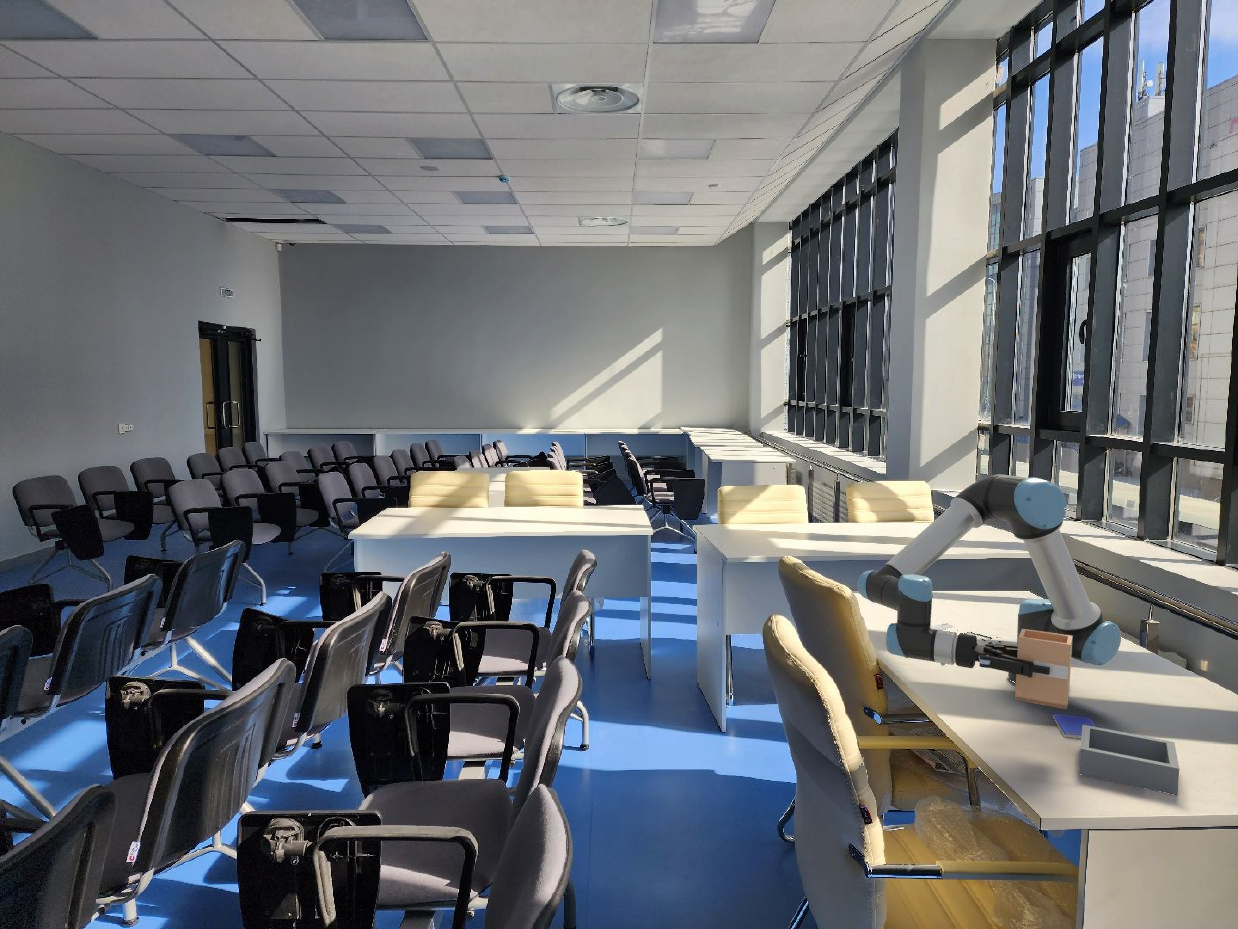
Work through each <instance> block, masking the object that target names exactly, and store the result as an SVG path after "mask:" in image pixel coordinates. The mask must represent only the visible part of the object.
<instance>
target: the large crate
mask: <svg viewBox="0 0 1238 929" xmlns="http://www.w3.org/2000/svg"><path fill="white" fill-rule="evenodd" d="M1078 765H1079V766H1078V775H1080V774H1081V775H1080V776H1084V775H1085V777H1089V776H1090V778H1093V777H1094V779H1098V780H1099V779H1100V780H1103V779H1104V781H1107V780H1108V782H1113V783H1117V784H1122V785H1126V786H1127V785H1128V786H1130V785H1132V786H1131V787H1135V788H1141V789H1144V788H1146V789H1145V790H1150V791H1154V792H1158V791H1161V792H1160V793H1163V792H1166V793H1165V794H1167V793H1169V794H1168V795H1172V794H1174V795H1173V796H1176V795H1177V796H1178V795H1179V794H1178V792H1179V781H1180V779H1179V778H1180V765H1179V760H1178V753H1177V749H1176V742H1175V741H1170V740H1167V739H1160V738H1155V737H1151V736H1149V737H1148V736H1144V735H1140V734H1135V733H1128V732H1122V731H1117V730H1114V729H1113V730H1112V729H1108V728H1103V727H1097V726H1096V727H1093V726H1087V725H1082V736H1081V739H1080V749H1079V763H1078Z"/></svg>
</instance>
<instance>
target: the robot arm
mask: <svg viewBox="0 0 1238 929" xmlns="http://www.w3.org/2000/svg"><path fill="white" fill-rule="evenodd" d="M1065 508H1067V499H1066V497H1065V494H1064V493H1063V491H1062V489H1061V488H1060V487H1059V486H1058V485H1057V484H1055V483H1054V482H1052V481H1050V480H1045V479H1042V478H1040V477H1024V476H1016V475H1008V474H1003V473H1002V474H1001V473H999V474H992V475H989V476H985V477H983V478H981V479H978V480H977V481H975V482H974V483H972V484H970V485H969V486H967V487H966V488H964V489H963V490H962V491H960V492H959V493H958V494H957V495H956V496H955V497H954V498H952V499H951V500H950V507H948V508H947V509H946V510H945V511H944V512H943V513H942V514H940V515H939V516H938V517H937V518H936V519H935V520H933V522H931V523H930V524H929V525H928V526H927V527H926V528H924V530H922V531H921V532H920V533H919V534H918V535H917V536H916V537H914V538H913V539H912V540H911V541H909V543H907V544H906V545H905V546H904V547H903V548H902V549H901V550H900V551H898V552H896V554H895V555H894V556H893V557H892V558H890V559H889V560H888V561H887V562H886V563H885V564H884V565H883V566H881V567H880V568H879V569H878V570H867V571H864V572H862V573H861V574H860V575H859V578H858V581H857V585H856V586H857V591H858V592H859V595H860V596H861V597H863V599H866V600H868V601H870V602H871V603H874V604H879V605H880V606H884V607H886V608H889V609H891V610H894V611H897V612H896V613H897V614H896V619H897V620H896V622H891V623H890V624H889V625H888V627H887V629H886V636H885V647H886V651H887V652H888V653H889V654H891V655H893V656H894V655H895V656H899V657H903V658H905V659H913V660H921V661H927V662H932V663H939V664H940V665H941V666H945V665H951V666H953V665H954V664H955V665H956V666H957V667H959V668H960V667H961V668H967V669H974V667H975V665H976V663H977V662H978V663H979V667H980V668H985V669H993V670H997V671H1002V672H1007V673H1008V674H1007V678H1008V677H1009V679H1010V680H1011V681H1014V682H1015V683H1016V674H1019V675H1024V676H1028V677H1029V678H1032V675H1033V674H1037V675H1043V676H1049V677H1055V678H1061V679H1068V666H1064V665H1058V664H1052V663H1045V662H1039V661H1034V664H1033V662H1031V661H1026V660H1023V659H1017V654H1018V637H1019V635H1020V632H1021V630H1022V629H1028V630H1035V631H1042V632H1049V633H1056V634H1063V635H1070V636H1073V638H1072V654H1071V659H1074V660H1077V661H1079V662H1082V663H1084V664H1091V665H1093V666H1103V665H1106V664H1107V663H1109V662H1111V661H1112V659H1114V657H1116V655H1117V653H1118V652H1119V648H1120V646H1121V642H1122V633H1121V629H1120V628H1119V626H1118V625H1117V624H1116V623H1114V622H1113V621H1110V620H1106V619H1105V617H1104V615H1103V613H1102V610H1101V608H1100V607H1099V605H1097V604H1096V603H1094V602H1092V601H1090V598H1089V597H1088V595H1087V592H1086V590H1085V587H1084V585H1083V582H1082V580H1081V577H1080V576H1079V575H1080V574H1079V573H1078V571H1077V568H1076V565H1075V564H1074V560H1073V558H1072V557H1071V554H1070V551H1069V549H1068V547H1067V543H1066V542H1065V540H1064V537H1063V535H1062V532H1061V530H1060V529H1061V527H1062V526H1063V523H1064V519H1065V517H1066V513H1067V511H1066V510H1065ZM993 520H998V521H1002V522H1007V523H1008V525H1009V527H1010V530H1011V532H1012V534H1013V536H1014V537H1015V538H1016V539H1018V540H1019V541H1023V543H1024V545H1025V548H1026V550H1027V552H1028V555H1029V557H1030V559H1031V561H1032V563H1033V565H1034V568H1035V570H1036V573H1037V575H1038V577H1039V580H1040V582H1041V584H1042V587H1043V588H1044V591H1045V594H1046V596H1047V598H1048V599H1047V598H1043V599H1042V598H1030V599H1029V598H1028V599H1025V600H1022V601H1021V602H1020V604H1019V605H1018V606H1019V608H1018V613H1017V631H1016V632H1017V635H1016V636H1017V637H1016V644H1008V643H1003V642H999V643H995V642H991V641H989V642H988V644H985V645H981V644H980V645H979V644H977V638H978V637H977V636H976V634H970V633H966V634H963V633H960V634H959V635H957V633H956V632H950V631H943V630H936V629H931V628H930V627H931V623H932V622H931V621H932V606H933V598H934V595H933V583H932V580H931V578H929V577H927V576H925V575H922V574H923V573H924V572H925V571H927V569H928V568H930V567H931V566H932V565H933V564H934V563H935V562H936V561H937V560H938V559H939V558H940V557H942V556H943V555H944V554H945V553H946V552H948V551H949V549H951V548H952V547H953V546H954V545H955V544H956V543H957V542H959V541H960V540H961V539H962V538H963V537H964V536H966V535H967V534H968V533H969V532H970V531H972V529H973V528H974V529H979V528H980V527H982V526H983V525H984V524H985V523H987V522H989V521H993ZM976 637H977V638H976ZM1009 679H1008V680H1009ZM1010 680H1009V681H1010ZM1011 681H1010V682H1011ZM1015 683H1014V684H1015Z"/></svg>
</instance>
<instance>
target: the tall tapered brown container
mask: <svg viewBox="0 0 1238 929" xmlns="http://www.w3.org/2000/svg"><path fill="white" fill-rule="evenodd" d="M1072 638H1073V636H1070V635H1063V634H1056V633H1049V632H1042V631H1035V630H1028V629H1022V630H1021V632H1020V635H1019V637H1018V654H1017V659H1023V660H1026V661H1031V662H1033V664H1034V661H1039V662H1045V663H1052V664H1058V665H1064V666H1068V679H1061V678H1055V677H1049V676H1043V675H1037V674H1033V675H1032V678H1029V677H1028V676H1024V675H1019V674H1016V684H1015V694H1014V700H1015V701H1019V702H1026V703H1031V704H1037V705H1041V706H1048V707H1052V708H1058V709H1063V710H1067V709H1068V705H1069V701H1070V700H1069V699H1070V687H1071V686H1070V684H1071V669H1072V657H1071V654H1072Z"/></svg>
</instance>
